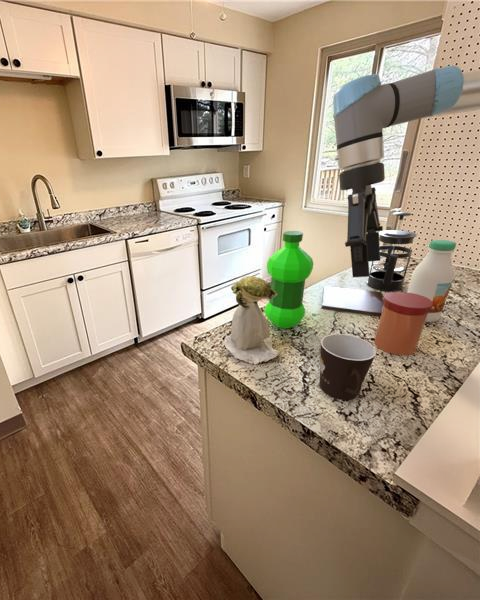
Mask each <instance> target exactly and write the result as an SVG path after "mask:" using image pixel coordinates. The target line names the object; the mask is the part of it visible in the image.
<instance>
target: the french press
mask: <svg viewBox="0 0 480 600" xmlns="http://www.w3.org/2000/svg"><path fill="white" fill-rule="evenodd" d="M392 215H394V216H397V217H398V216H399V217H398V220H399V223H398V226H397V229H389V230H387V229H386V230H383V231H378V232H379V242H381V243H384V244H386V245H380V257H382V258H383V257H384V258H385V259H384V260H385V261H383V262H375V261H371V266H370V268H369V277H368V279H367V281H366V285H367V287H369V288H371V289H374V290H377V291H380V292H382V291H383V292H400V291H401V290H403V288H404V282H405V278H406V275H407V271H408V268H409V264H410V260H411V257H412V253H413V250H412V249H411V248H409V247H406V246H402V245H409V244H413V242H414V239H415V238H416V237H418V235H417V233H416V232H413V231H409V230H400V227H401V225H402V221H403V220H404V217H408V216H409V217H410V216H412V213H411V212H405V211H398V212H393V213H392ZM387 244H388V245H387ZM400 245H401V246H400ZM384 250H385V251H386V250H387V252H384ZM395 251H399V252H404V253H395ZM406 258H407V262H406V265H402V264H399V263H397V262H398V259H406ZM374 262H375V263H374ZM373 269H374V270H375V271H372V270H373ZM400 273H403V274H400Z"/></svg>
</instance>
